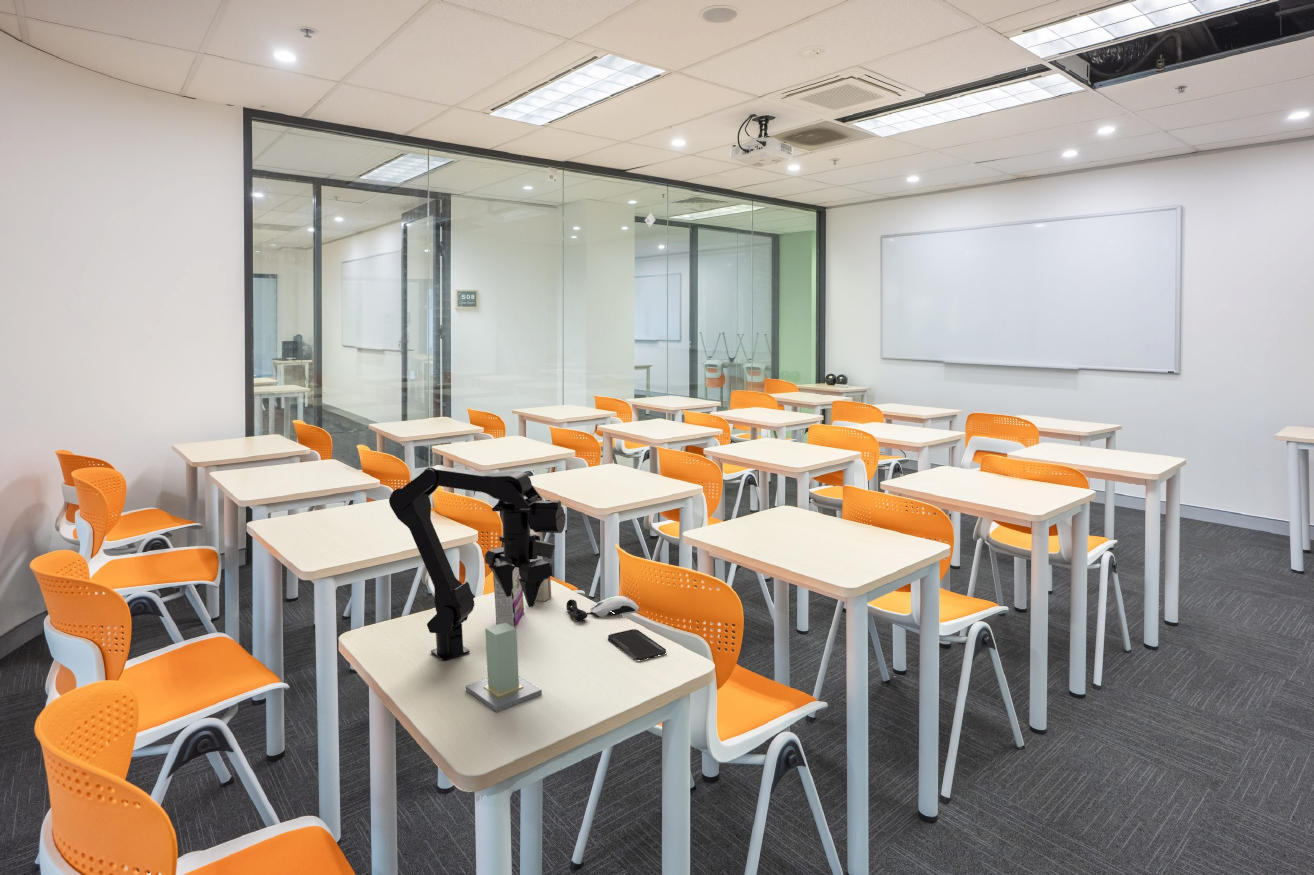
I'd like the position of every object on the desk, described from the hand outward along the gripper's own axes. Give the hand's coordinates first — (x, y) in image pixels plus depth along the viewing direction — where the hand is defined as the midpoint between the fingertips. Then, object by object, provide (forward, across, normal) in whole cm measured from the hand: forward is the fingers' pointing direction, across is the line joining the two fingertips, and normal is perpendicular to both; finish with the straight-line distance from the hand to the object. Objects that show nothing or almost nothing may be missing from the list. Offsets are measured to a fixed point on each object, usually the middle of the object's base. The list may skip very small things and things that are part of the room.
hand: (519, 601), depth 158 cm
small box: (+13, +30, -24) cm, 41 cm away
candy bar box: (+13, +22, -10) cm, 28 cm away
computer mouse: (+14, +10, -30) cm, 34 cm away
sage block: (+12, -11, +11) cm, 20 cm away
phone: (+14, -12, -22) cm, 29 cm away
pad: (+13, -11, +11) cm, 20 cm away
